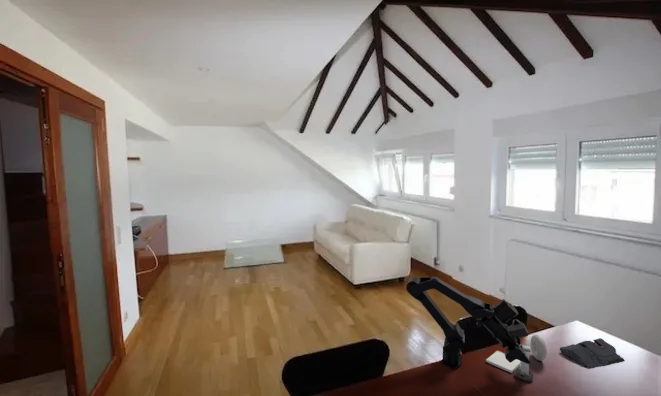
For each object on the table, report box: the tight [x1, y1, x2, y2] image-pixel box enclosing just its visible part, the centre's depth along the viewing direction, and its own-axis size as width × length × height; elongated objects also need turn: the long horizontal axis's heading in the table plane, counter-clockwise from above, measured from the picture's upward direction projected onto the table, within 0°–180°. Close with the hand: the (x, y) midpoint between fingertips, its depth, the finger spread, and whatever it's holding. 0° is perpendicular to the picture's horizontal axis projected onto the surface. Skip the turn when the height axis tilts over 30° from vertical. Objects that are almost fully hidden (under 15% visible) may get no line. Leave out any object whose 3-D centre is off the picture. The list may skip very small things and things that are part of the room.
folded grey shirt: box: [559, 337, 626, 370], centre depth 138 cm, size 15×22×5 cm
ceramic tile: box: [485, 350, 520, 374], centre depth 135 cm, size 10×10×1 cm
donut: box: [529, 334, 548, 362], centre depth 136 cm, size 10×3×10 cm, turn 168°
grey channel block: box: [514, 343, 534, 383], centre depth 125 cm, size 6×6×12 cm
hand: (528, 361), depth 124 cm, fingers closed on grey channel block, 2 cm apart
